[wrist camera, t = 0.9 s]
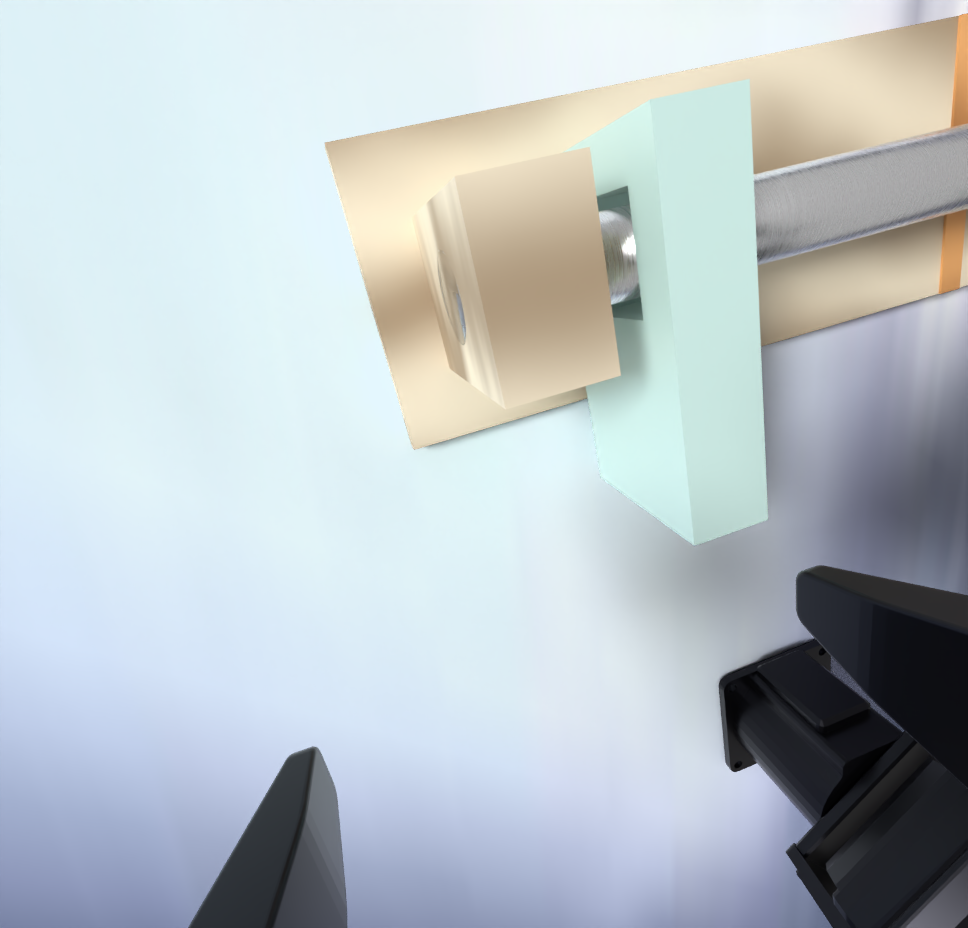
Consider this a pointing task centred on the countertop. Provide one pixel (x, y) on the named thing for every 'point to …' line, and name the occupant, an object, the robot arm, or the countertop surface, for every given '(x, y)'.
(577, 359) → the beige cradle stand
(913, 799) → the robot arm
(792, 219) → the pipe
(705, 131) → the collar
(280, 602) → the countertop surface
